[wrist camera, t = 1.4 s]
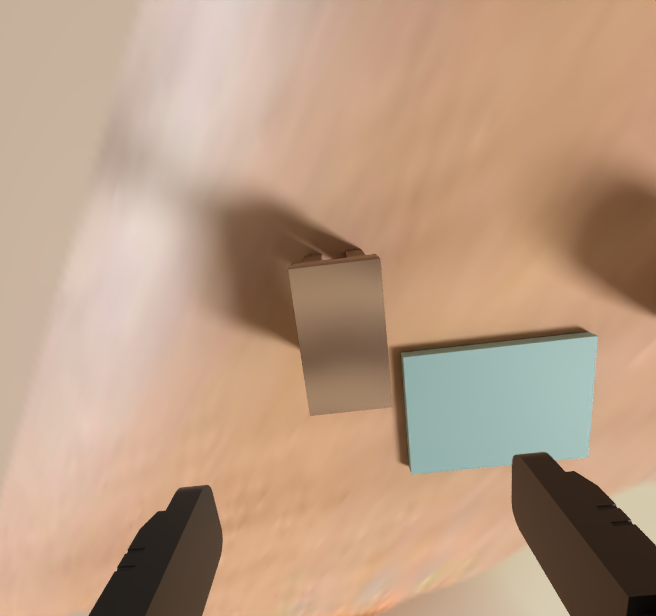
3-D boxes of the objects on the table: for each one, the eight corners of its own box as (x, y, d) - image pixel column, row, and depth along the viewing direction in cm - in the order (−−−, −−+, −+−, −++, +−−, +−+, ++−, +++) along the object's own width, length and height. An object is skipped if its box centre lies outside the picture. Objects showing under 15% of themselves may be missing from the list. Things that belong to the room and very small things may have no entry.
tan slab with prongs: (299, 252, 27) (287, 269, 20) (365, 244, 27) (380, 258, 19) (315, 362, 30) (310, 415, 22) (376, 355, 30) (392, 407, 22)
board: (400, 352, 29) (403, 357, 28) (588, 331, 29) (597, 335, 28) (409, 466, 32) (411, 474, 31) (580, 449, 32) (588, 457, 31)
